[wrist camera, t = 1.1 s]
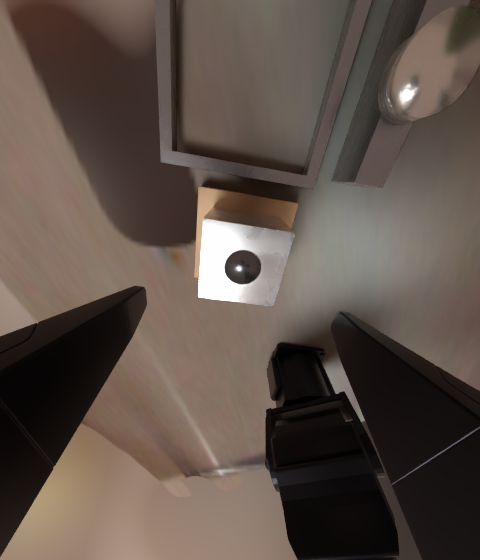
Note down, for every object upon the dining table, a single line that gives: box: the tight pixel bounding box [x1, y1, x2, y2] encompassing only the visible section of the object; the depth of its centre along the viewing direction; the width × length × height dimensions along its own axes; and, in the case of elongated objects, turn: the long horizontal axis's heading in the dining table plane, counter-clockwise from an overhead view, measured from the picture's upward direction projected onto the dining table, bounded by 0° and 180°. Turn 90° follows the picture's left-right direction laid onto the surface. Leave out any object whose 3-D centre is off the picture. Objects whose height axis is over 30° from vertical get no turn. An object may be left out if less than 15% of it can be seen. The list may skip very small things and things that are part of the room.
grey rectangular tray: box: [155, 0, 480, 189], centre depth 10 cm, size 16×12×5 cm
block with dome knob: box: [198, 206, 295, 306], centre depth 14 cm, size 6×6×5 cm
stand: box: [195, 186, 298, 278], centre depth 17 cm, size 8×8×1 cm
